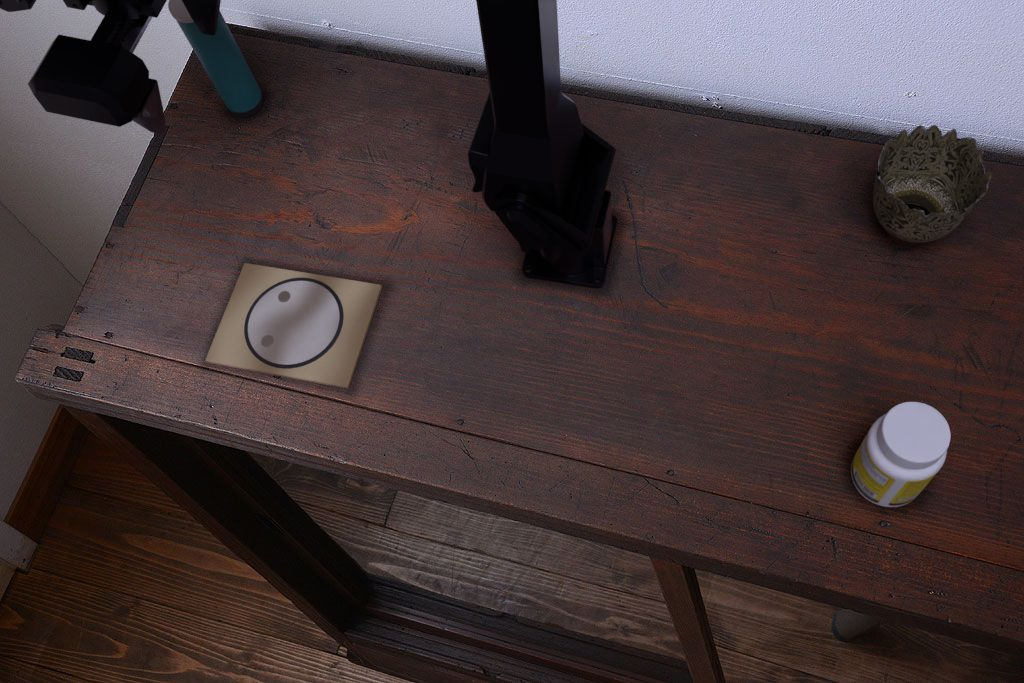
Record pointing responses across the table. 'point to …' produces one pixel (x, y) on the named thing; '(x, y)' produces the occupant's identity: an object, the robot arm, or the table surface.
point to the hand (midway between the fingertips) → (184, 81)
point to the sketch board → (295, 325)
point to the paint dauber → (221, 62)
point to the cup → (927, 184)
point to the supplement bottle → (901, 454)
